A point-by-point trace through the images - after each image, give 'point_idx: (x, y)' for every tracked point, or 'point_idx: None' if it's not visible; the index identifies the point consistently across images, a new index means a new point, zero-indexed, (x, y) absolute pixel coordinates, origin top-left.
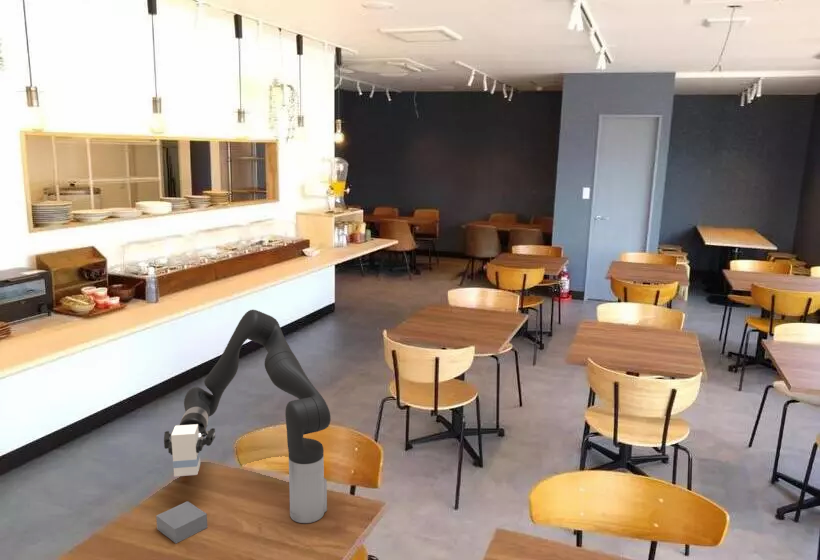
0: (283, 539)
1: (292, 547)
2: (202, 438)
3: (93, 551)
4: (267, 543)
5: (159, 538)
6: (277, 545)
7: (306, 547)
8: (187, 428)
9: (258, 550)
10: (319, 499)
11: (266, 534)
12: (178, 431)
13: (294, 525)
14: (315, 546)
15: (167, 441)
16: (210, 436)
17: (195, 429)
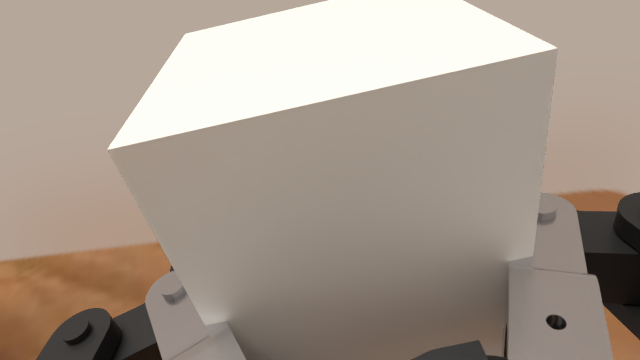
0: (67, 293)
1: (60, 269)
2: (159, 286)
3: (586, 196)
4: (112, 275)
5: None
6: (91, 271)
7: (29, 272)
8: (281, 55)
9: (141, 251)
10: None
11: (102, 307)
12: (379, 12)
13: (4, 355)
14: (7, 278)
15: (614, 216)
16: (46, 343)
17: (171, 67)
